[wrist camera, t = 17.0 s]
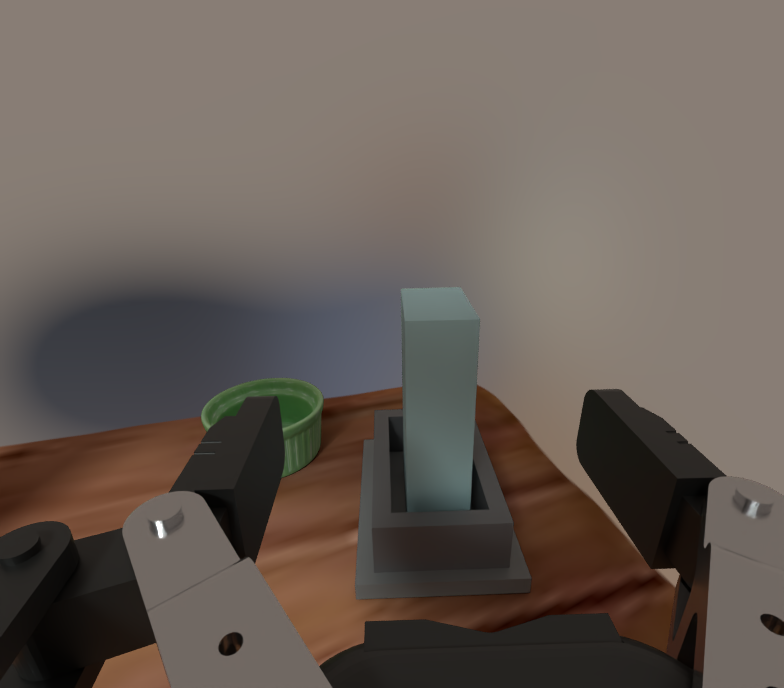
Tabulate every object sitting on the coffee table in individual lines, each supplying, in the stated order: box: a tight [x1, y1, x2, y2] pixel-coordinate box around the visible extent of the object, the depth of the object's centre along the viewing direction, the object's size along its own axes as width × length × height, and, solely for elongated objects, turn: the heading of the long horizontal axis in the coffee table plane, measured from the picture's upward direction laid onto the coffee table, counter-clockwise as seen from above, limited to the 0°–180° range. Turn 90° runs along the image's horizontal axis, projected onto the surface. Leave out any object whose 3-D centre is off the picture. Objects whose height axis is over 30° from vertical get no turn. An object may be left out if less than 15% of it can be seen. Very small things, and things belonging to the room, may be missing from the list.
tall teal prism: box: [401, 287, 480, 512], centre depth 26 cm, size 4×6×13 cm, turn 1°
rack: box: [355, 409, 532, 599], centre depth 28 cm, size 9×13×4 cm
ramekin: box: [201, 378, 324, 478], centre depth 35 cm, size 9×9×4 cm
